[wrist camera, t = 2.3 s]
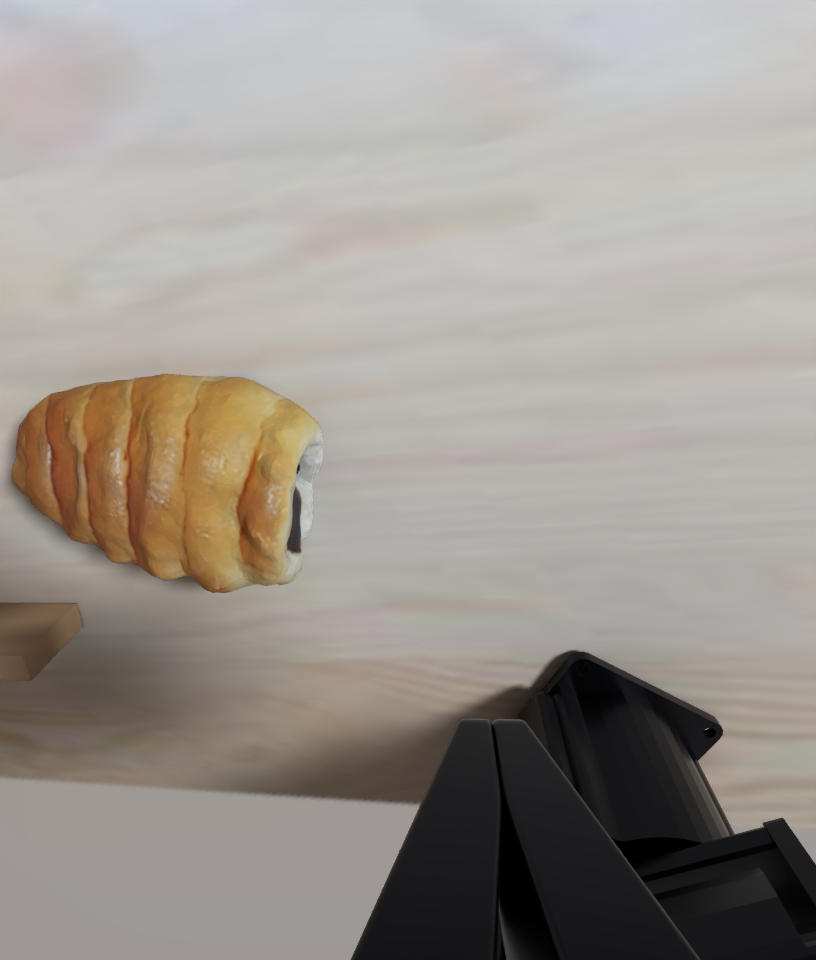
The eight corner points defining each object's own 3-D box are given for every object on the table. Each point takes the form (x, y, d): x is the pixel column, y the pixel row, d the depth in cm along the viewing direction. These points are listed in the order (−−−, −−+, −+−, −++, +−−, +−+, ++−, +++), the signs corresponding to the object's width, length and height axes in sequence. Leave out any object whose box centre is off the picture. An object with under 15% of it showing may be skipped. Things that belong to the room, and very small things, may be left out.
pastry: (53, 529, 21) (-27, 586, 17) (38, 337, 18) (-59, 356, 15) (315, 570, 21) (290, 634, 17) (334, 383, 18) (309, 414, 15)
